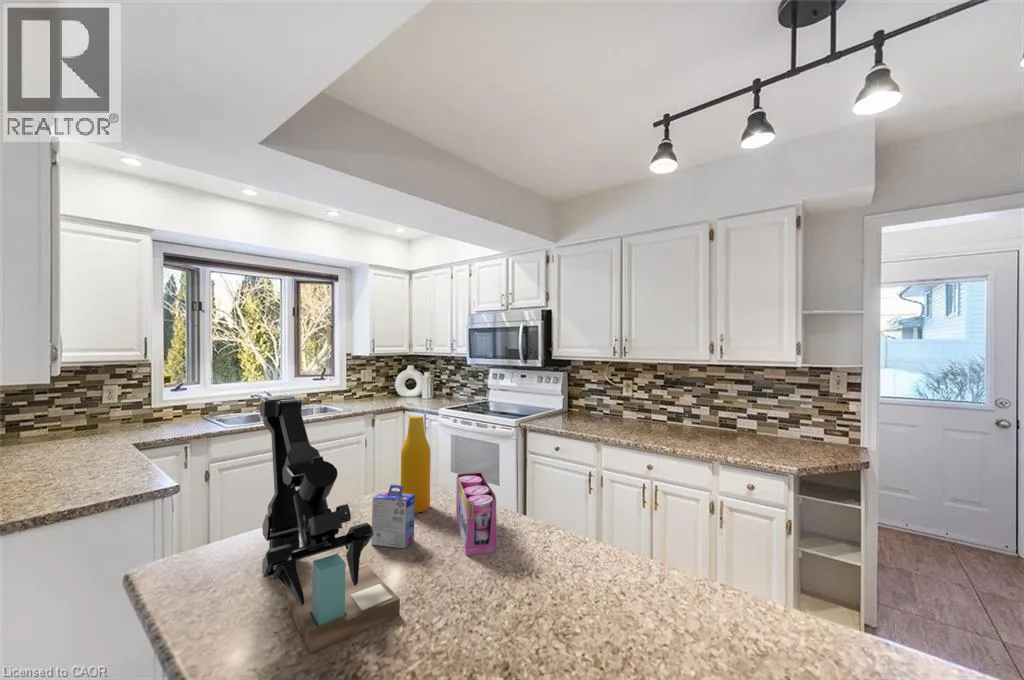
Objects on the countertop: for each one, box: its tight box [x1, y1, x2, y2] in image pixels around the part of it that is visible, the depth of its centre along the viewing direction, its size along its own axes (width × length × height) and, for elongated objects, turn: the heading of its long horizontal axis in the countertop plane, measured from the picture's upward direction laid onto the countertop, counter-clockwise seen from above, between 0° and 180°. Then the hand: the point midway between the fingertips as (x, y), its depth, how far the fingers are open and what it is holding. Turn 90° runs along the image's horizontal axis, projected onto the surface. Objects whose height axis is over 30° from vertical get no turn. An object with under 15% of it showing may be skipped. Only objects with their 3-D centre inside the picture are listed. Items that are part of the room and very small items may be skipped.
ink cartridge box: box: [370, 484, 415, 549], centre depth 111 cm, size 10×6×14 cm, turn 78°
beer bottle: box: [400, 415, 431, 514], centre depth 133 cm, size 9×9×29 cm
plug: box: [311, 553, 347, 627], centre depth 76 cm, size 4×4×12 cm
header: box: [286, 565, 401, 654], centre depth 82 cm, size 16×16×3 cm
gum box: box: [455, 472, 497, 556], centre depth 115 cm, size 24×8×14 cm, turn 14°
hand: (330, 594), depth 76 cm, fingers open, 9 cm apart
